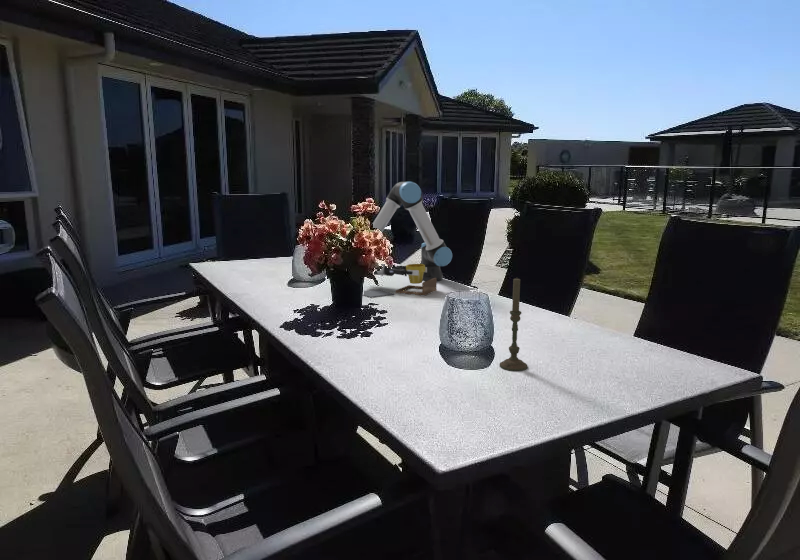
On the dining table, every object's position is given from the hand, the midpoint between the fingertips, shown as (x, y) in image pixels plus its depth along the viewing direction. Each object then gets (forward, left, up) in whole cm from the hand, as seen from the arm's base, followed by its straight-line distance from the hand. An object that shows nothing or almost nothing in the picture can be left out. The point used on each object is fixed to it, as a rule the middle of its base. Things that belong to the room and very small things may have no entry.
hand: (422, 271), depth 302 cm
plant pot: (+2, -4, -7) cm, 8 cm away
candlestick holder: (+47, +116, -12) cm, 126 cm away
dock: (+2, -4, -12) cm, 12 cm away
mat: (+24, -11, -12) cm, 29 cm away
